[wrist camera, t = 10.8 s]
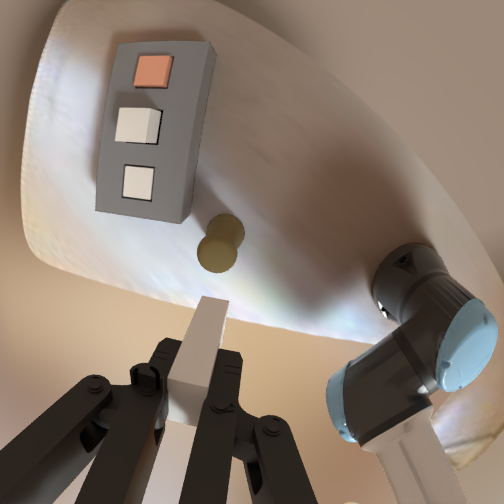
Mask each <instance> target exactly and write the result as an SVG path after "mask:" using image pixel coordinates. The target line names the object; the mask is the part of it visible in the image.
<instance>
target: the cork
mask: <svg viewBox="0 0 504 504" xmlns="http://www.w3.org/2000/svg"><path fill="white" fill-rule="evenodd" d="M244 235H245V231H244V227H243V225H242V223H241V221H240V220H239V219H238V218H236V217H234V216H233V215H228V214H222V215H218V216H216V217H214V218H213V219H212V220H211V221H210V223H209V225H208V228H207V233H206V236H205V237H204V238H203V239H202V240H201V241H200V243H199V245H198V248H197V257H198V261H199V263H200V264H201V266H202V267H203V268H204V269H206V270H208V271H210V272H213V273H223V272H225V271H227V270H229V269H230V268H231V267H232V266H233V265H234V263H235V262H236V258H237V249H238V247H239V246H240V245H241V243H242V241H243V239H244Z"/></svg>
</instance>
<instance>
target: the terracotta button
mask: <svg viewBox="0 0 504 504" xmlns="http://www.w3.org/2000/svg"><path fill="white" fill-rule="evenodd" d="M173 61H174V59H173V58H171V57H170V56H140V58H139V62H138V67H137V71H136V76H135V81H134V85H135V86H137V87H139V88H141V89H168V84H169V79H170V74H171V70H172V65H173Z"/></svg>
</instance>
